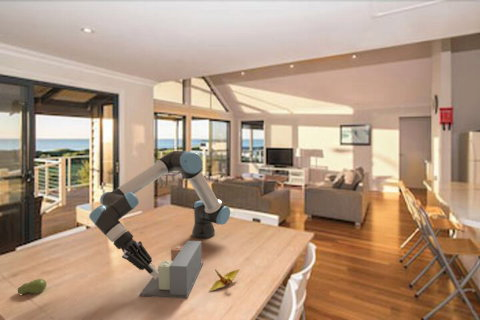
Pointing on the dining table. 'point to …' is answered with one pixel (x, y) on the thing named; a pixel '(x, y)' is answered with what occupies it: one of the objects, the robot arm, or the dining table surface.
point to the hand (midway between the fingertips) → (158, 276)
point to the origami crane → (224, 279)
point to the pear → (33, 287)
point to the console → (179, 273)
